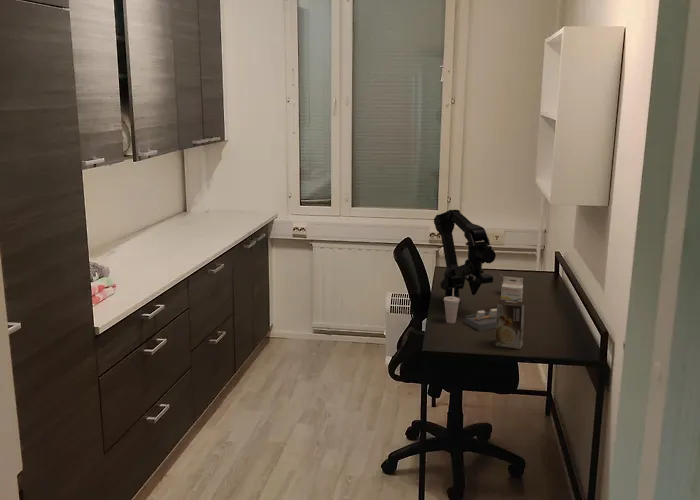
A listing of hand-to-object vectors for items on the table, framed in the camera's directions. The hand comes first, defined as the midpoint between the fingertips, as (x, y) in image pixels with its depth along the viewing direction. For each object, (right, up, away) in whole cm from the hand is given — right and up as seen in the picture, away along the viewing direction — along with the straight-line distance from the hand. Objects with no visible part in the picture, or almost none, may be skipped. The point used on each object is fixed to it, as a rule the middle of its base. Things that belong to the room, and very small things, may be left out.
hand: (473, 294), depth 278 cm
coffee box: (+7, -16, -32) cm, 37 cm away
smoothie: (-11, -10, -8) cm, 17 cm away
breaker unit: (+5, -11, -10) cm, 16 cm away
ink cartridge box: (+16, -8, +3) cm, 18 cm away
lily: (+21, -3, +26) cm, 33 cm away
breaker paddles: (+5, -8, -11) cm, 15 cm away
